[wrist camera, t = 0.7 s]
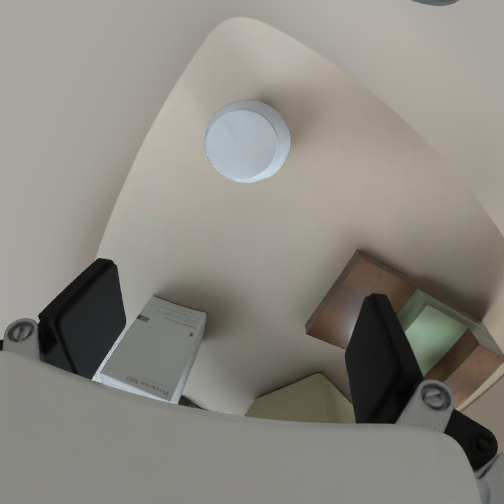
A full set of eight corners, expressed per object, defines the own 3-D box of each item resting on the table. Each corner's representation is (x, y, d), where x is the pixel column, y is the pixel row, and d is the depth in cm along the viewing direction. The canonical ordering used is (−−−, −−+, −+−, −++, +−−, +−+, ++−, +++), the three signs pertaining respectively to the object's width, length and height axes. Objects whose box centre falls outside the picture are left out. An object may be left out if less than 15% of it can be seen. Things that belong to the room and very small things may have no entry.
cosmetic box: (208, 311, 38) (175, 401, 25) (201, 343, 41) (172, 428, 27) (149, 293, 38) (97, 372, 25) (147, 326, 41) (104, 403, 27)
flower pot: (329, 348, 39) (341, 454, 24) (377, 405, 44) (393, 485, 29) (227, 393, 45) (208, 481, 30) (290, 438, 50) (286, 511, 35)
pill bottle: (226, 168, 30) (194, 195, 20) (222, 107, 27) (187, 100, 17) (289, 166, 29) (292, 193, 19) (287, 104, 27) (290, 93, 16)
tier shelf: (356, 249, 32) (377, 291, 24) (481, 321, 35) (506, 358, 27) (305, 324, 37) (308, 375, 29) (435, 373, 40) (451, 412, 32)
